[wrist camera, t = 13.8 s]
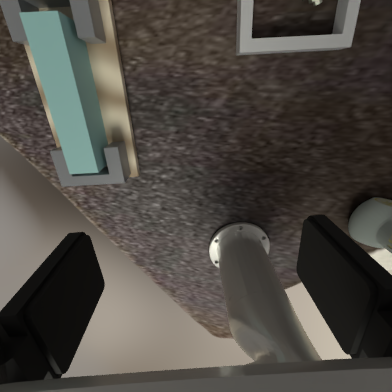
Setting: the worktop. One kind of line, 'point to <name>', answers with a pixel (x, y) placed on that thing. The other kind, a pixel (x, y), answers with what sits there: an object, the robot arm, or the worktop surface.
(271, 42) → the parts tray
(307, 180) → the worktop surface
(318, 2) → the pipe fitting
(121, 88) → the base board
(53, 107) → the slat
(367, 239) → the air freshener
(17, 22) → the grey slat holder
